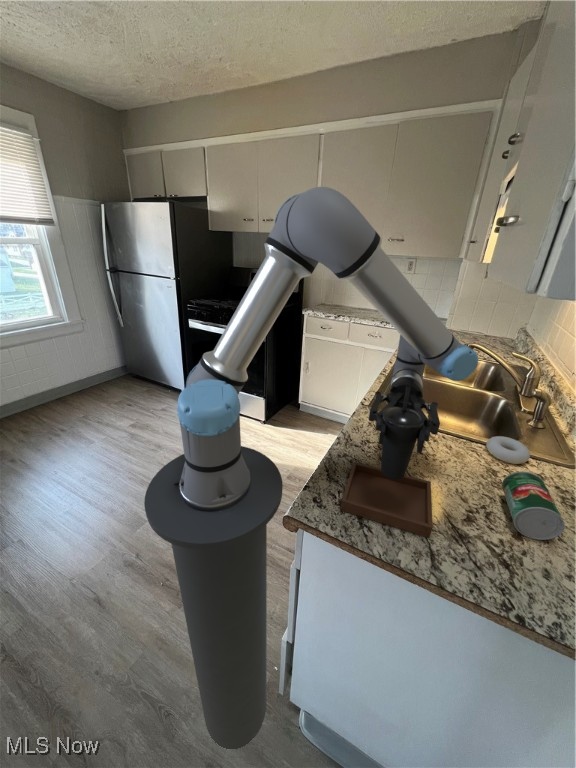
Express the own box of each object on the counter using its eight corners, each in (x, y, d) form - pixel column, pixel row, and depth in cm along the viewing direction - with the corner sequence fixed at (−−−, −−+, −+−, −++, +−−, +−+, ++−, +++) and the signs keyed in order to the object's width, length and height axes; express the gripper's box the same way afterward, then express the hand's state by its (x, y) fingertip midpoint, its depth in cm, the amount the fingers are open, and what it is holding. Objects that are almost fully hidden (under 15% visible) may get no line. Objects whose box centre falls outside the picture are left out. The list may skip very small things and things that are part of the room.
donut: (530, 471, 80) (524, 450, 88) (535, 461, 78) (529, 440, 86) (485, 459, 84) (484, 439, 92) (489, 448, 82) (487, 429, 90)
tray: (340, 510, 66) (341, 500, 65) (352, 470, 78) (353, 461, 77) (429, 538, 61) (432, 527, 60) (428, 490, 72) (430, 481, 71)
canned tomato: (510, 503, 72) (523, 542, 62) (495, 476, 71) (506, 512, 61) (551, 495, 68) (572, 536, 58) (536, 467, 66) (554, 504, 57)
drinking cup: (399, 458, 70) (415, 376, 62) (419, 481, 63) (440, 393, 55) (367, 462, 69) (379, 379, 60) (384, 487, 62) (400, 397, 53)
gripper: (444, 411, 75) (453, 472, 56) (364, 396, 81) (346, 446, 62) (452, 383, 72) (464, 437, 52) (368, 369, 78) (350, 413, 58)
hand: (400, 442), depth 57 cm, fingers closed on drinking cup, 6 cm apart
